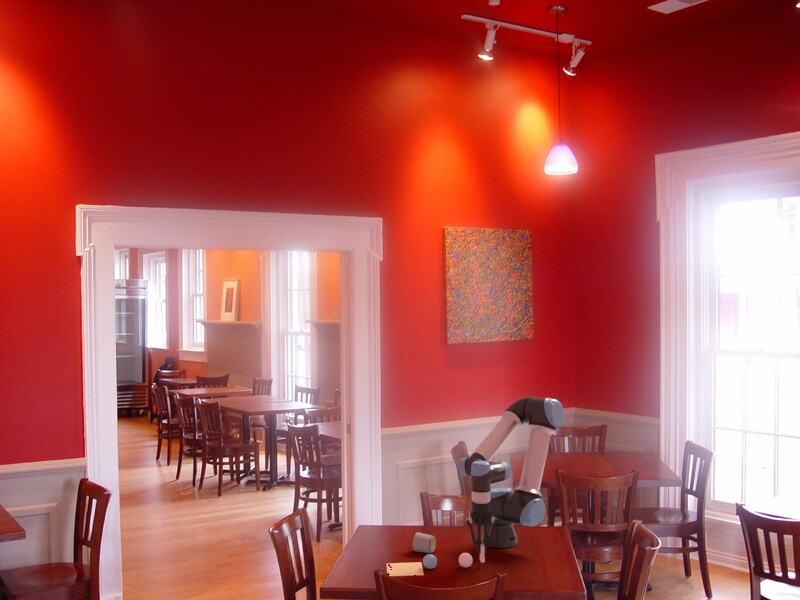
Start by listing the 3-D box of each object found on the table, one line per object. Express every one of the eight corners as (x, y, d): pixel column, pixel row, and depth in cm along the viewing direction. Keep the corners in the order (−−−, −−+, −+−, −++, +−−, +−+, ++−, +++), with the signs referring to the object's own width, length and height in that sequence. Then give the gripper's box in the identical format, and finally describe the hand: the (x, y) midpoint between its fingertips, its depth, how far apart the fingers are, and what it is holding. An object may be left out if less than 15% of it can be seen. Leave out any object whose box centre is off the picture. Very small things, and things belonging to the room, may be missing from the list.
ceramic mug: (430, 556, 320) (430, 537, 320) (412, 553, 323) (411, 535, 323) (440, 548, 329) (439, 530, 329) (422, 546, 333) (422, 528, 333)
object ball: (436, 565, 308) (436, 551, 308) (437, 570, 303) (437, 556, 303) (422, 566, 308) (422, 552, 308) (423, 571, 302) (423, 557, 302)
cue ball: (471, 564, 309) (471, 550, 309) (473, 569, 303) (473, 555, 303) (458, 564, 308) (457, 551, 308) (459, 569, 303) (459, 555, 303)
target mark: (421, 562, 312) (421, 562, 312) (423, 575, 298) (423, 574, 298) (386, 563, 312) (386, 563, 312) (387, 576, 298) (387, 576, 298)
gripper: (495, 498, 310) (496, 557, 310) (463, 499, 309) (464, 558, 309) (499, 503, 302) (500, 563, 302) (466, 504, 301) (467, 565, 301)
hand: (482, 561), depth 306 cm, fingers closed
